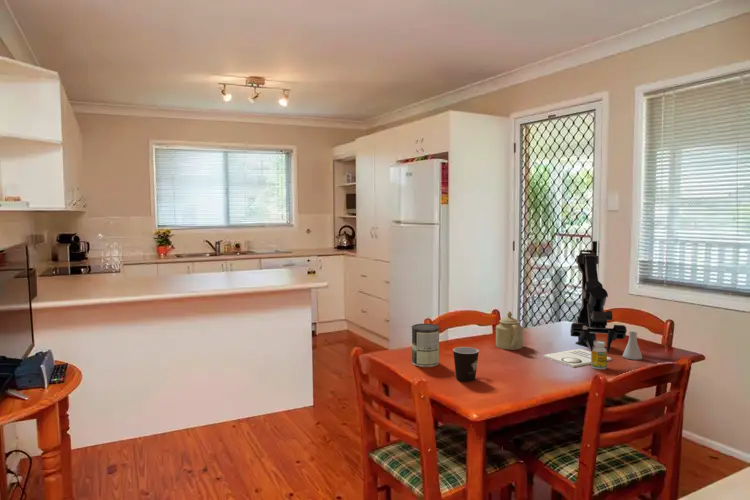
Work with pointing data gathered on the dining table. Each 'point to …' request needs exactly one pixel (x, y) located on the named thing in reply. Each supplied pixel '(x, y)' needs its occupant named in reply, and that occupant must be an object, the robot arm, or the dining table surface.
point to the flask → (632, 348)
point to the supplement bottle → (599, 355)
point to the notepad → (572, 357)
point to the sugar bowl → (509, 333)
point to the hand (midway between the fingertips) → (599, 350)
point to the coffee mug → (465, 363)
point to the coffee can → (425, 345)
